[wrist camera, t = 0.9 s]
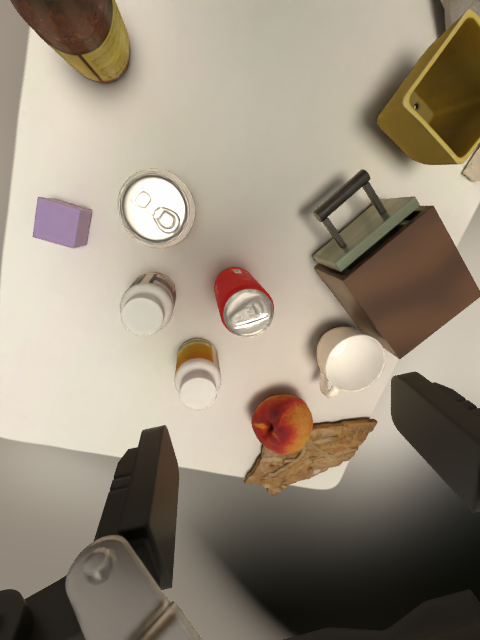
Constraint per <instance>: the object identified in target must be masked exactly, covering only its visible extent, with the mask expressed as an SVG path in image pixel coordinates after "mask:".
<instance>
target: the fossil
mask: <svg viewBox="0 0 480 640" xmlns="http://www.w3.org/2000/svg"><path fill="white" fill-rule="evenodd" d="M376 424H377V421H376V420H375V419H360V420H354V421H352V420H351V421H341V422H340V423H335V424H331V423H327V424H319V425H313V428H312V432H311V435H310V437H309V440H308V441H307V443H306V444H305V445H304V446H303V447H302V448H301V449H300V450H298V451H296V452H294V453H291V454H285V455H284V454H277V453H275V452H273V451H271V450H270V449H268V448H266V447H265V446H264V445H263V448H262V454H261V457H260V458H259V459H258V460H257V461H256V465H255V467H253V469H252V471H251V472H250V473H248V474H247V476H246V478H245V480H244V483H245V484H252V483H260V485H261V486H262V487H264V488H267V491H268V494H271V495H276V494H277V493H279V492H280V491H281V490H282V489H286V488H287V487H288V485H289V484H292V483H296V482H297V481H300V480H304V479H310V478H311V477H313V476H315V475H317V474H319V473H321V472H324V471H326V470H327V469H328V468H330V467H335V466H339V465H340V464H341V463H342V462H343V461H348V460H349V459H351V457H353V456H354V455H355V452H356V451H357V450H358V446H359V445H361V444H362V443H363V442H364V440H365V439H366V437H367V435H368V433H369V432H371V431H373V429H374V427H375V426H376Z"/></svg>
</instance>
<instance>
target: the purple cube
mask: <svg viewBox="0 0 480 640" xmlns="http://www.w3.org/2000/svg"><path fill="white" fill-rule="evenodd" d="M91 215H92V210H89V209H86V208H83V207H80V206H76V205H73V204H70V203H67V202H63V201H60V200H57V199H52V198H43V197H38V199H37V207H36V215H35V223H34V231H33V237H35V238H38V239H42V240H46V241H49V242H53V243H56V244H60V245H63V246H67V247H71V248H77V247H81V246H84V245H86V244H87V238H88V233H89V227H90V221H91Z"/></svg>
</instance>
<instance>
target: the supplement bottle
mask: <svg viewBox="0 0 480 640" xmlns="http://www.w3.org/2000/svg"><path fill="white" fill-rule="evenodd" d="M220 384H221V374H220V368H219V361H218V355H217V351H216V349H215V347H214V346H213V345H212V344H211V343H210V342H208V341H206V340H204V339H192V340H189V341H187V342H186V343H184V344H183V345H182V346H181V348H180V349H179V352H178V356H177V364H176V372H175V387H176V389H177V391H178V393H179V394H180V399H181V401H182V402H183V404H184V405H185V406H187V407H189V408H191V409H196V410H199V409H204V408H207V407H208V406H210V405H211V404H212V403H213V402H214V400H215V398H216V395H217V391H218V389H219V387H220Z"/></svg>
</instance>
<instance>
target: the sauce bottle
mask: <svg viewBox="0 0 480 640" xmlns="http://www.w3.org/2000/svg"><path fill="white" fill-rule="evenodd" d="M11 2H12V4H13V5H14V7H15V9H16V10H17V12H18V13H19V14H20V15H21V17H22V18H23V19H24V20H25V21H26V22H27V23H28V25H29V26H30V27H32V28H33V29H34V30H35V32H36V33H37V34H38V35H39V36H40V37H41V38H42V39H43V40H44V41H45V42H46V43H47V44H48V45H49V46H50V47H52V48H53V49H54V50H55V51H56V52H57V53H58V54H59V55H60V56H61V57H63V58H64V59H65V60H66V61H67V62H68V63H69V64H70V65H71V66H72V67H74V68H75V69H76V70H77V71H78V72H79V73H81V74H82V75H83V76H85V77H87V78H89V79H91V80H95V81H98V82H103V83H108V82H112V81H114V80H116V79H118V78H119V77H120V76H121V75H122V74H123V73H124V72H125V70H126V69H127V67H128V61H129V53H130V48H129V38H128V34H127V31H126V28H125V25H124V22H123V20H122V17H121V15H120V12H119V10H118V7H117V4H116V2H115V0H11Z"/></svg>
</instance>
